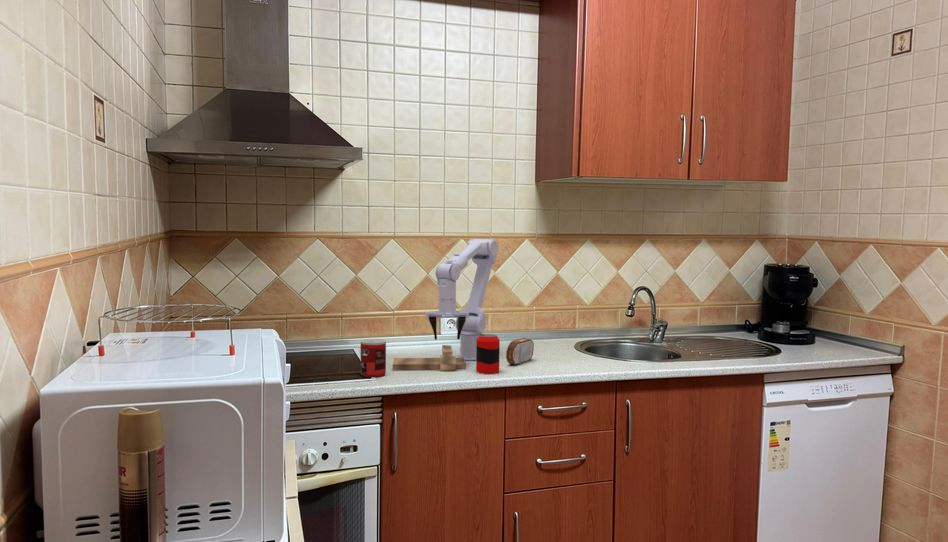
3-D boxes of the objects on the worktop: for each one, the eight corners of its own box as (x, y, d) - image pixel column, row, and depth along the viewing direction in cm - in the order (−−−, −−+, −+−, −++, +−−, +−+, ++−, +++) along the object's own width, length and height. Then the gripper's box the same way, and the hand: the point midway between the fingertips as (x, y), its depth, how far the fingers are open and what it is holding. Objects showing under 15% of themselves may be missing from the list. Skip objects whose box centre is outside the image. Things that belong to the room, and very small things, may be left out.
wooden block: (453, 362, 223) (453, 345, 222) (455, 370, 211) (455, 351, 211) (439, 362, 222) (439, 345, 222) (440, 370, 211) (440, 351, 210)
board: (463, 363, 224) (463, 357, 223) (465, 369, 214) (465, 363, 213) (393, 363, 221) (393, 358, 221) (392, 370, 211) (392, 364, 211)
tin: (527, 358, 232) (528, 335, 232) (535, 360, 231) (535, 336, 230) (505, 366, 220) (505, 341, 219) (512, 367, 218) (513, 342, 218)
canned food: (361, 372, 208) (361, 338, 208) (386, 372, 209) (386, 338, 208) (359, 378, 201) (359, 343, 200) (385, 377, 201) (385, 343, 201)
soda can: (480, 368, 216) (480, 332, 215) (501, 370, 214) (502, 334, 213) (473, 373, 209) (473, 336, 208) (495, 375, 206) (496, 338, 206)
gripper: (425, 300, 212) (425, 341, 213) (469, 300, 213) (469, 341, 214) (425, 298, 219) (425, 337, 220) (468, 298, 220) (467, 337, 221)
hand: (447, 339), depth 217 cm, fingers open, 7 cm apart
